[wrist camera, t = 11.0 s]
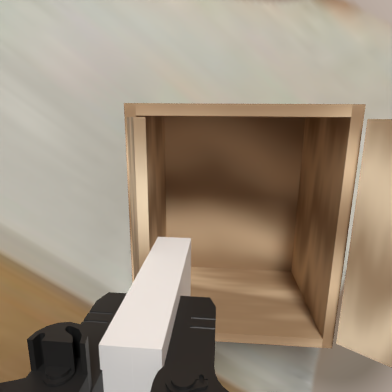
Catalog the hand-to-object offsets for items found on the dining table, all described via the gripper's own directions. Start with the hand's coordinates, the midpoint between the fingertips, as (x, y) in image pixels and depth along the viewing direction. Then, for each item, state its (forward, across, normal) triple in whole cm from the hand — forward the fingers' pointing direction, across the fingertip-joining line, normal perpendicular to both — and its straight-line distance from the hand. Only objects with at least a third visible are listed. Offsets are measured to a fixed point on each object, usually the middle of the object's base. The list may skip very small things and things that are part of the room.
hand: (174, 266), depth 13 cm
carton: (+13, -3, 0) cm, 13 cm away
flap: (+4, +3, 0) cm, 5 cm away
